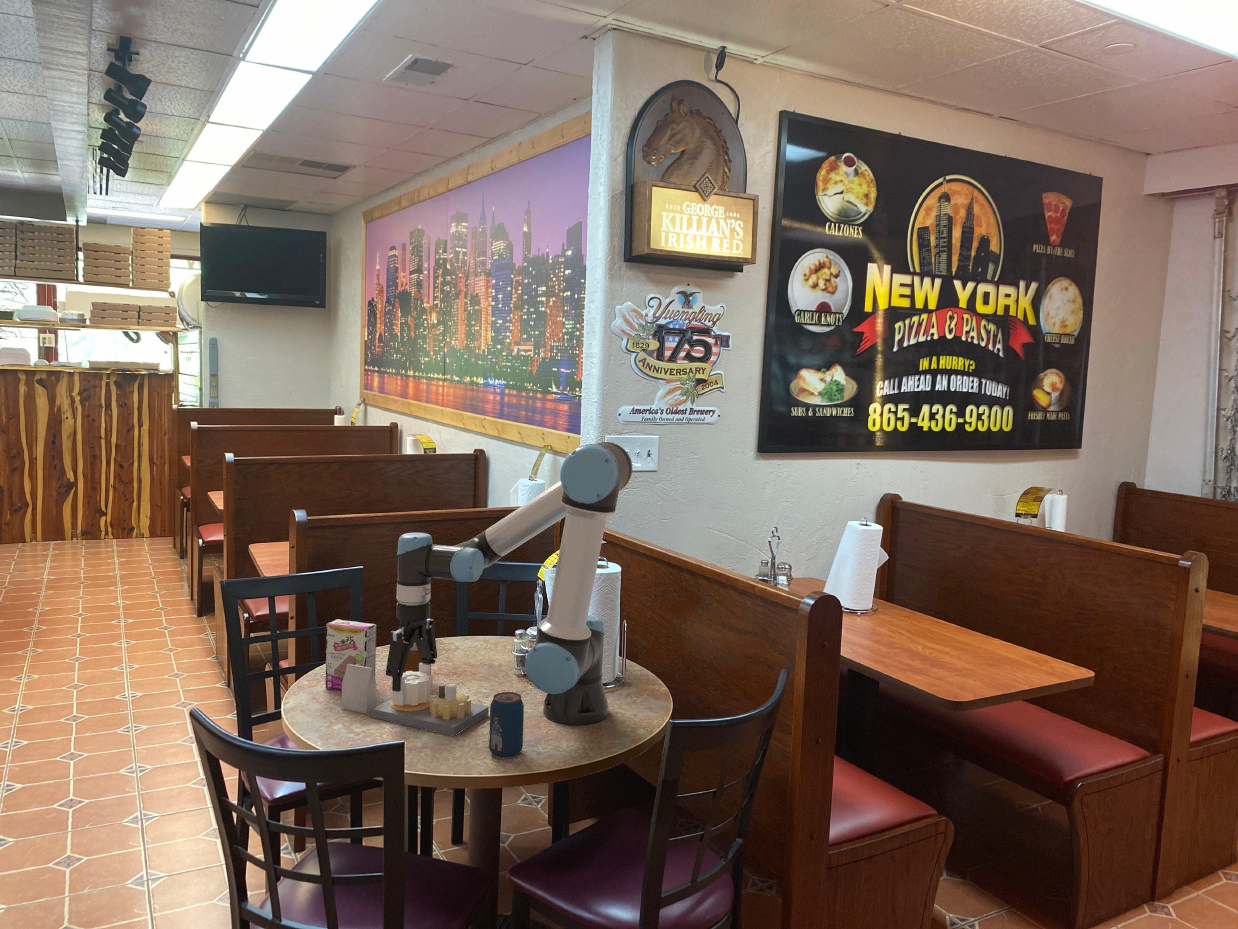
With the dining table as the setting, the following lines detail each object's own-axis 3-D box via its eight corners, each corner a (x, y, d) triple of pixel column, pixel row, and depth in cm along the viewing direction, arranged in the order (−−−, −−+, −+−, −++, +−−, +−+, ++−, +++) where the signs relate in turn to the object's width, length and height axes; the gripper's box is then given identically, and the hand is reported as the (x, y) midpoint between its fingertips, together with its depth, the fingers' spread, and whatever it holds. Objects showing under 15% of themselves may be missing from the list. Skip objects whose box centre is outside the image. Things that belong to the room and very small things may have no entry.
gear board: (488, 715, 203) (489, 681, 202) (454, 736, 190) (454, 700, 189) (409, 698, 211) (410, 665, 211) (371, 717, 199) (372, 682, 198)
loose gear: (407, 689, 208) (407, 668, 208) (439, 695, 205) (439, 674, 204) (383, 701, 200) (383, 679, 200) (415, 708, 197) (416, 686, 196)
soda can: (523, 746, 186) (525, 691, 185) (521, 760, 179) (523, 703, 178) (490, 745, 186) (492, 690, 185) (486, 759, 179) (488, 702, 178)
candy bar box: (324, 689, 215) (325, 623, 213) (335, 683, 219) (336, 618, 218) (365, 695, 212) (366, 628, 210) (376, 688, 217) (377, 623, 215)
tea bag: (366, 713, 201) (367, 670, 200) (341, 708, 203) (342, 666, 202) (376, 708, 204) (376, 666, 203) (351, 703, 206) (352, 661, 206)
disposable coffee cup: (424, 691, 216) (425, 644, 215) (388, 687, 218) (389, 640, 217) (440, 679, 225) (441, 633, 224) (405, 675, 227) (406, 629, 226)
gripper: (397, 614, 189) (395, 716, 191) (454, 593, 209) (452, 686, 211) (369, 609, 192) (367, 709, 194) (428, 589, 212) (426, 680, 214)
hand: (411, 697), depth 202 cm, fingers closed on loose gear, 9 cm apart
